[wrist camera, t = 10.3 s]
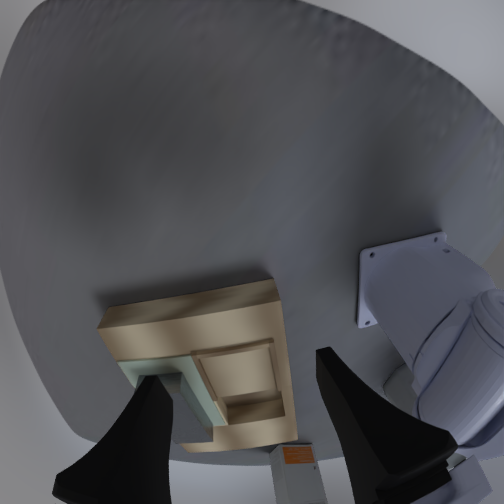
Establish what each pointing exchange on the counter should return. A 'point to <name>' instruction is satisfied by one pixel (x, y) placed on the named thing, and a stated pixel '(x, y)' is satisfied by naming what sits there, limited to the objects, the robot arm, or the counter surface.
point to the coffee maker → (409, 400)
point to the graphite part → (185, 410)
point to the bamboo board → (215, 358)
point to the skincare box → (296, 475)
